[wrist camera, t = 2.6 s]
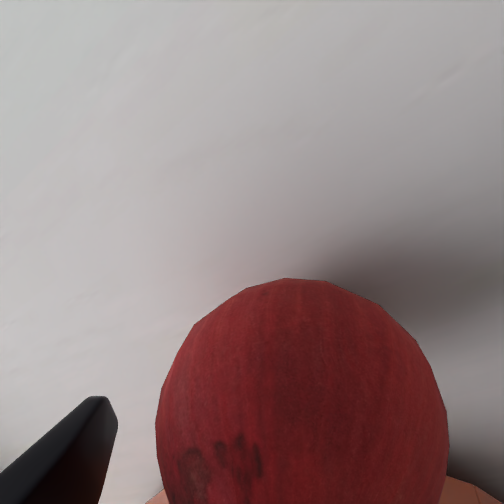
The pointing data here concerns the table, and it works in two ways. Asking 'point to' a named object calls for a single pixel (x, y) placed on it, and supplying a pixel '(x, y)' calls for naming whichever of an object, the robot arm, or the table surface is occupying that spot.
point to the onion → (301, 404)
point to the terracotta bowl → (452, 500)
